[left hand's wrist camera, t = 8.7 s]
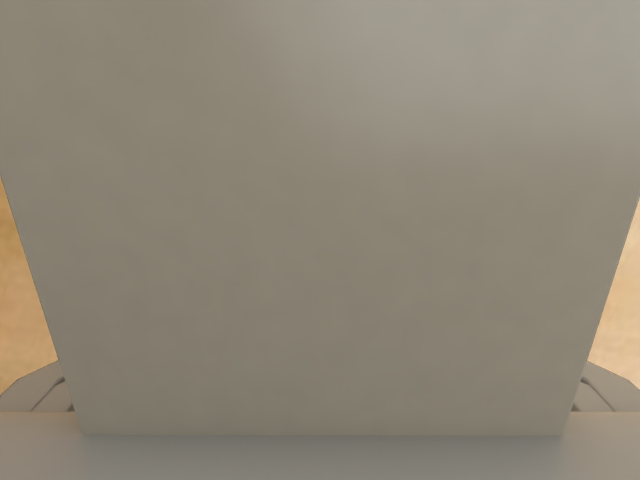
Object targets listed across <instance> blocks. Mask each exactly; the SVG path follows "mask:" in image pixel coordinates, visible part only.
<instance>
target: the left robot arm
mask: <svg viewBox="0 0 640 480" xmlns="http://www.w3.org/2000/svg"><path fill="white" fill-rule="evenodd" d="M0 480H640V390H639V389H638V388H637V387H636V386H635V385H633V384H632V383H631V382H630V381H629V380H627V379H625V378H623V377H621V376H619V375H617V374H614V373H612V372H610V371H608V370H606V369H604V368H602V367H599V366H597V365H595V364H593V363H591V362H589V361H587V362H586V365H585V368H584V371H583V374H582V377H581V381H580V384H579V387H578V390H577V393H576V396H575V399H574V402H573V405H572V409H571V412H570V415H569V418H568V421H567V424H566V427H565V430H564V433H563V435H562V436H300V435H83V434H82V432H81V429H80V426H79V422H78V419H77V416H76V413H75V410H74V407H73V404H72V400H71V397H70V394H69V391H68V388H67V385H66V381H65V378H64V375H63V372H62V369H61V366H60V363H59V360H58V361H56V362H54V363H51V364H49V365H47V366H45V367H43V368H41V369H39V370H37V371H35V372H32V373H30V374H28V375H26V376H24V377H22V378H20V379H18V380H16V381H15V382H14V383H13V384H12V385H11V386H10V387H9V388H8V389H7V390H5V391H4V392H3V393H2V394H1V395H0Z"/></svg>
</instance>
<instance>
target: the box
mask: <svg viewBox="0 0 640 480" xmlns="http://www.w3.org/2000/svg"><path fill="white" fill-rule="evenodd" d="M0 176H1V180H2V183H3V186H4V189H5V192H6V195H7V198H8V202H9V205H10V208H11V211H12V214H13V217H14V221H15V224H16V227H17V230H18V233H19V236H20V239H21V243H22V246H23V249H24V252H25V255H26V258H27V262H28V265H29V268H30V271H31V274H32V277H33V280H34V284H35V287H36V290H37V293H38V296H39V299H40V303H41V306H42V309H43V312H44V315H45V318H46V322H47V325H48V328H49V331H50V334H51V337H52V340H53V344H54V347H55V350H56V353H57V356H58V359H59V363H60V366H61V369H62V372H63V375H64V378H65V381H66V385H67V388H68V391H69V394H70V397H71V400H72V404H73V407H74V410H75V413H76V416H77V419H78V422H79V426H80V429H81V432H82V434H83V435H300V436H562V435H563V433H564V430H565V427H566V424H567V421H568V418H569V415H570V412H571V409H572V405H573V402H574V399H575V396H576V393H577V390H578V387H579V384H580V381H581V377H582V374H583V371H584V368H585V365H586V362H587V359H588V356H589V353H590V350H591V346H592V343H593V340H594V337H595V334H596V331H597V328H598V325H599V322H600V319H601V315H602V312H603V309H604V306H605V303H606V300H607V297H608V294H609V291H610V287H611V284H612V281H613V278H614V275H615V272H616V269H617V266H618V263H619V260H620V256H621V253H622V250H623V247H624V244H625V241H626V238H627V235H628V232H629V229H630V225H631V222H632V219H633V216H634V213H635V210H636V207H637V204H638V201H639V197H640V0H0Z"/></svg>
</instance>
